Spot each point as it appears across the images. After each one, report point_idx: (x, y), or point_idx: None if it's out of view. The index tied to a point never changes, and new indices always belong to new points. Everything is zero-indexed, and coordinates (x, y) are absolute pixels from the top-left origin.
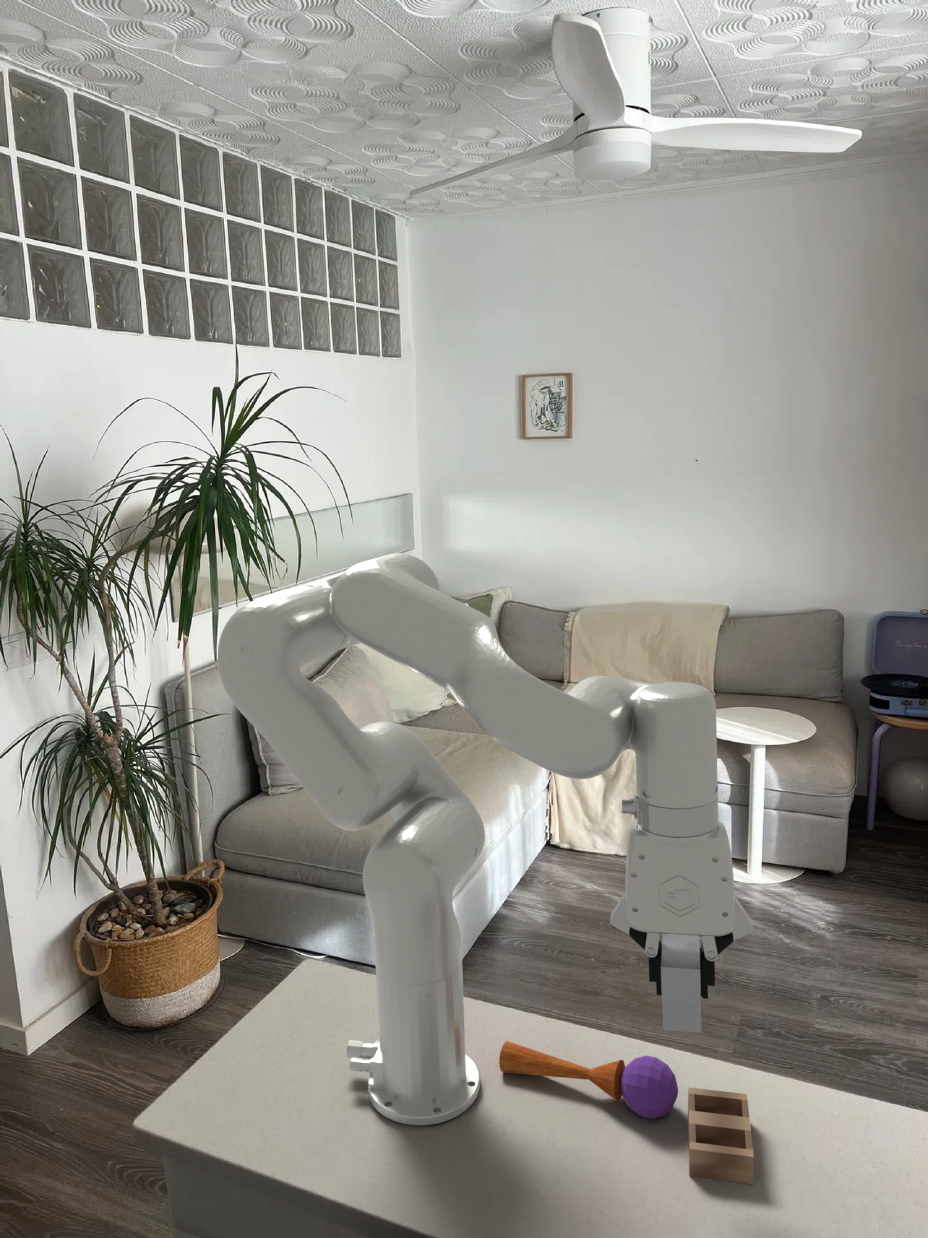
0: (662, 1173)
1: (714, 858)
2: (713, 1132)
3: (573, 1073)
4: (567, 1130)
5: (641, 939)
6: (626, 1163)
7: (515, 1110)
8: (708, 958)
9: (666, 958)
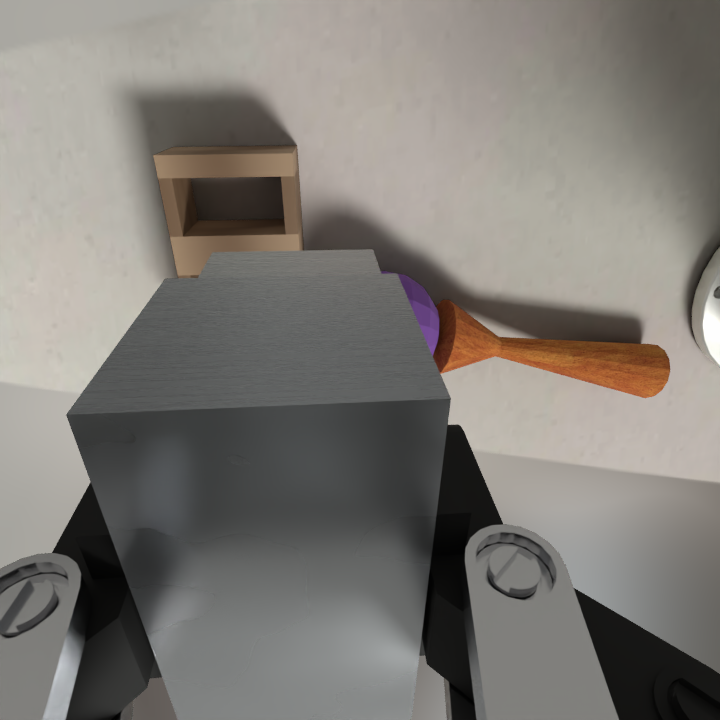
0: (349, 142)
1: None
2: (249, 231)
3: (528, 342)
4: (532, 224)
5: (617, 664)
6: (420, 156)
7: (628, 257)
8: (65, 573)
9: (394, 518)
